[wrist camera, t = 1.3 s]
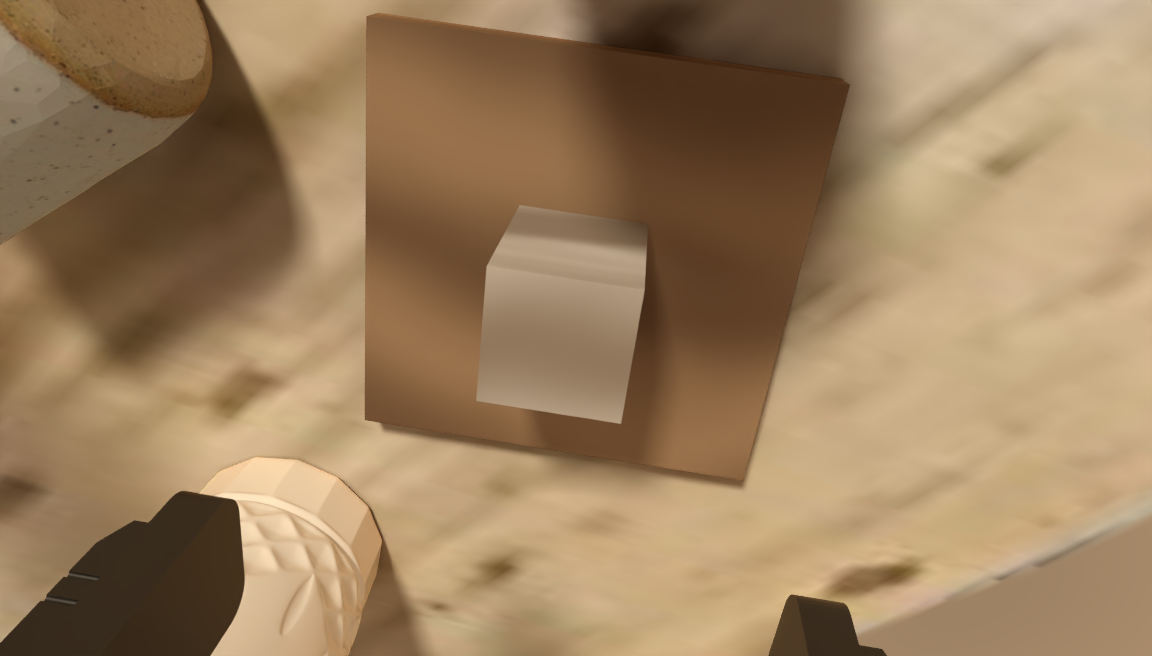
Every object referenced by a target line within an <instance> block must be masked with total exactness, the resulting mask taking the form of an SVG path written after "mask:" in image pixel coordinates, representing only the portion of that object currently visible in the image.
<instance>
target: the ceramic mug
mask: <svg viewBox="0 0 1152 656" xmlns="http://www.w3.org/2000/svg"><path fill="white" fill-rule="evenodd" d="M211 79H212V50H211V44H210V39H209V34H208V31H207V27H206V24H205V20H204V17H203V14H202V11H201V9H200V7H199V5H198V3H197V1H196V0H0V245H1V244H2V243H4V242H5V241H7V240H9V239H10V238H12V237H13V236H15V235H16V234H17V233H19V232H21V231H22V230H24V229H25V228H27V227H29V226H30V225H32V224H34V223H35V222H37V221H38V220H40V219H42V218H43V217H45V216H46V215H48V214H50V213H51V212H53V211H54V210H56V209H58V208H59V207H61V206H62V205H64V204H66V203H67V202H69V201H70V200H72V199H74V198H75V197H77V196H78V195H80V194H82V193H83V192H85V191H86V190H87V189H89V188H90V187H91V186H93V185H94V184H96V183H97V182H99V181H101V180H102V179H104V178H106V177H107V176H109V175H110V174H112V173H114V172H115V171H117V170H118V169H120V168H122V167H123V166H125V165H127V164H128V163H130V162H131V161H133V160H135V159H136V158H138V157H140V156H141V155H143V154H145V153H146V152H148V151H150V150H151V149H153V148H155V147H156V146H158V145H160V144H161V143H162V142H163V141H164V140H166V139H167V138H168V137H169V136H170V135H171V134H172V133H173V132H175V131H176V130H177V129H178V128H179V127H180V126H181V125H182V124H183V123H184V122H185V121H186V120H188V119H189V118H190V117H191V116H192V115H193V114H194V113H195V112H196V110H197V109H198V107H199V106H200V105H201V103H202V102H203V100H204V99H205V98H206V95H207V92H208V89H209V86H210V83H211Z"/></svg>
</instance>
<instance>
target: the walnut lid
mask: <svg viewBox="0 0 1152 656" xmlns="http://www.w3.org/2000/svg"><path fill="white" fill-rule="evenodd" d="M848 89H849V84H848V83H846V82H845V81H844V80H842V79H840V78H832V77H825V76H818V75H811V74H804V73H797V72H790V71H783V70H776V69H769V68H762V67H755V66H748V65H741V64H734V63H727V62H720V61H713V60H706V59H699V58H692V57H685V56H678V55H671V54H664V53H657V52H650V51H642V50H635V49H628V48H621V47H614V46H607V45H600V44H593V43H586V42H579V41H572V40H565V39H558V38H551V37H544V36H537V35H530V34H523V33H516V32H509V31H502V30H495V29H488V28H481V27H474V26H467V25H460V24H453V23H445V22H438V21H431V20H424V19H417V18H410V17H403V16H396V15H389V14H382V13H377V14H373V15H369V16H367V29H366V273H365V420H368V421H374V422H380V423H387V424H393V425H399V426H405V427H412V428H418V429H424V430H430V431H437V432H443V433H449V434H455V435H462V436H468V437H474V438H480V439H487V440H493V441H499V442H505V443H512V444H518V445H524V446H530V447H537V448H543V449H549V450H555V451H562V452H568V453H574V454H580V455H587V456H593V457H599V458H605V459H612V460H618V461H624V462H630V463H637V464H643V465H649V466H655V467H662V468H668V469H674V470H680V471H687V472H693V473H699V474H705V475H712V476H718V477H724V478H730V479H737V480H743V479H744V476H745V472H746V468H747V464H748V461H749V457H750V453H751V449H752V446H753V442H754V438H755V435H756V431H757V427H758V423H759V420H760V416H761V412H762V409H763V405H764V401H765V397H766V394H767V390H768V386H769V383H770V379H771V375H772V371H773V368H774V364H775V360H776V357H777V353H778V349H779V345H780V342H781V338H782V334H783V331H784V327H785V323H786V319H787V316H788V312H789V308H790V305H791V301H792V297H793V293H794V290H795V286H796V282H797V279H798V275H799V271H800V267H801V264H802V260H803V256H804V253H805V249H806V245H807V241H808V238H809V234H810V230H811V227H812V223H813V219H814V215H815V212H816V208H817V204H818V201H819V197H820V193H821V189H822V186H823V182H824V178H825V175H826V171H827V167H828V163H829V160H830V156H831V152H832V149H833V145H834V141H835V137H836V134H837V130H838V126H839V123H840V119H841V115H842V111H843V108H844V104H845V100H846V97H847V93H848Z"/></svg>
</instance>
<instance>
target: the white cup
mask: <svg viewBox="0 0 1152 656" xmlns="http://www.w3.org/2000/svg"><path fill="white" fill-rule="evenodd" d="M199 494H205V495H211V496H217V497H223V498H229V499H233V500H235V501H236V502H237V504H238V507H239V513H240V525H241V537H242V549H243V561H244V573H245V584H244V591H243V596H242V600H241V603H240V606H239V609H238V611H237V614H236V616H235V618H234V620H233V622H232V623H231V625H230V626H229V628H228V630H227V631H226V633H225V634H224V636H223V637H222V639H221V640H220V642H219V644H218V645H217V647H216V648H215V650H214V651H213V653H212V654H211V656H348V655H349V653H350V651H351V648H352V645H353V643H354V640H355V637H356V634H357V631H358V628H359V625H360V622H361V618H362V610H363V608H364V605H365V603H366V600H367V598H368V595H369V593H370V590H371V588H372V585H373V583H374V580H375V578H376V575H377V571H378V565H379V558H380V552H381V545H382V539H381V536H380V534H379V531H378V529H377V526H376V524H375V522H374V519H373V517H372V514H371V512H370V509H369V507H368V506H367V505H366V504H365V503H364V502H363V501H362V500H361V499H360V498H359V497H358V496H357V495H356V494H355V493H354V492H353V491H352V490H351V489H350V488H349V487H348V486H347V485H346V484H344V483H343V482H342V481H341V480H340V479H339V478H338V477H336V476H334V475H331V474H329V473H327V472H325V471H322V470H320V469H318V468H316V467H313V466H311V465H309V464H307V463H304V462H302V461H300V460H296V459H280V458H263V457H254V458H251V459H249V460H246V461H244V462H241V463H239V464H236V465H233V466H231V467H228V468H226V469H223V470H221V471H219V472H218V473H217V474H216V475H215V476H214V477H213V478H212V479H211V481H210V482H209V483H208V484H207V485H206V486H205V487H204V488H203V489H202V490H201V491H200V493H199Z"/></svg>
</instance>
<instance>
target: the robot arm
mask: <svg viewBox="0 0 1152 656" xmlns="http://www.w3.org/2000/svg"><path fill="white" fill-rule="evenodd" d="M244 584H245V573H244V561H243V549H242V537H241V525H240V513H239V507H238V504H237V502H236V501H235V500H233V499H229V498H223V497H217V496H211V495H205V494H199V493H193V492H187V491H181V492H178V493H177V494H175V495H174V496H173V497H172V498H171V499H170V500H169V501H168V502H167V503H166V504H165V505H164V506H163V508H162V509H161V510H160V511H159V512H158V513H157V514H156V515H155V516H154V518H153V519H152V520H151V521H150V522H149V523H146V522H140V521H133V522H131V523H129V524H127V525H126V526H124V527H122V528H121V529H119V530H117V531H116V532H114V533H112V534H110V535H109V536H107V537H105V538H104V539H102V540H100V541H99V542H97V543H96V544H95V545H94V546H93V547H92V548H91V549H90V550H89V551H88V552H87V553H86V554H85V555H84V556H83V557H82V558H81V559H80V560H79V562H78V563H77V564H76V565H75V566H74V567H73V568H72V569H71V570H70V571H69V575H68V577H63V578H62V579H61V580H60V581H59V582H58V583H57V584H56V585H55V587H54V588H53V589H52V590H51V591H50V592H49V593H48V594H47V596H46V599H45V601H40V602H39V603H38V604H37V605H36V606H35V607H34V608H33V609H32V610H31V612H30V613H29V614H28V615H27V616H26V617H25V618H24V619H23V620H22V621H21V622H20V623H19V624H18V625H17V626H16V627H15V628H14V629H13V630H12V631H11V632H10V633H9V634H8V635H7V637H6V638H5V639H4V640H3V641H2V642H1V643H0V656H211V654H212V653H213V651H214V650H215V648H216V647H217V645H218V644H219V642H220V640H221V639H222V637H223V636H224V634H225V633H226V631H227V630H228V628H229V626H230V625H231V623H232V622H233V620H234V618H235V616H236V614H237V611H238V609H239V606H240V603H241V600H242V596H243V591H244ZM769 656H887V655H886V654H885V653H884V651H883V650H882V649H878V648H872V647H866V646H860V645H859V644H858V640H857V636H856V633H855V629H854V625H853V622H852V618H851V614H850V611H849V609H848V607H847V606H846V605H845V604H844V603H839V602H834V601H828V600H822V599H816V598H810V597H804V596H798V595H790V596H789V597H788V599H787V601H786V603H785V606H784V609H783V612H782V615H781V618H780V621H779V625H778V628H777V631H776V634H775V637H774V640H773V643H772V646H771V649H770V652H769Z"/></svg>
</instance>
